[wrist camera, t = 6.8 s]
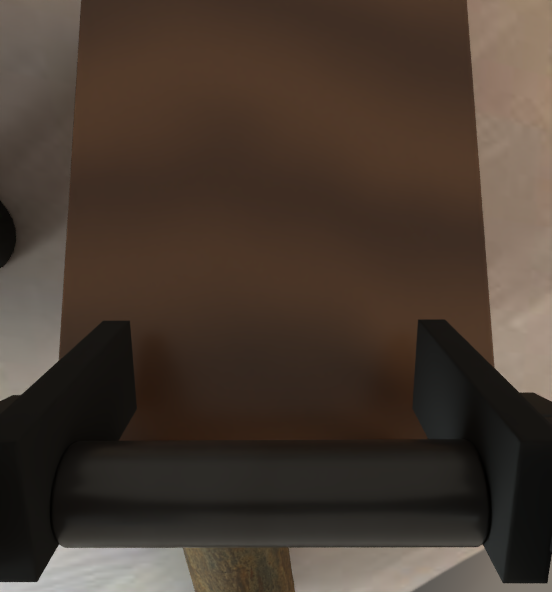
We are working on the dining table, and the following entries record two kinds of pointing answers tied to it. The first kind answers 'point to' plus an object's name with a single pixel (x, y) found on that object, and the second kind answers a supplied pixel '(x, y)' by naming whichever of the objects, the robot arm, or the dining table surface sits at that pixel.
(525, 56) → the dining table surface
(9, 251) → the cup
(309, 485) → the lid
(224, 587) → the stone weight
